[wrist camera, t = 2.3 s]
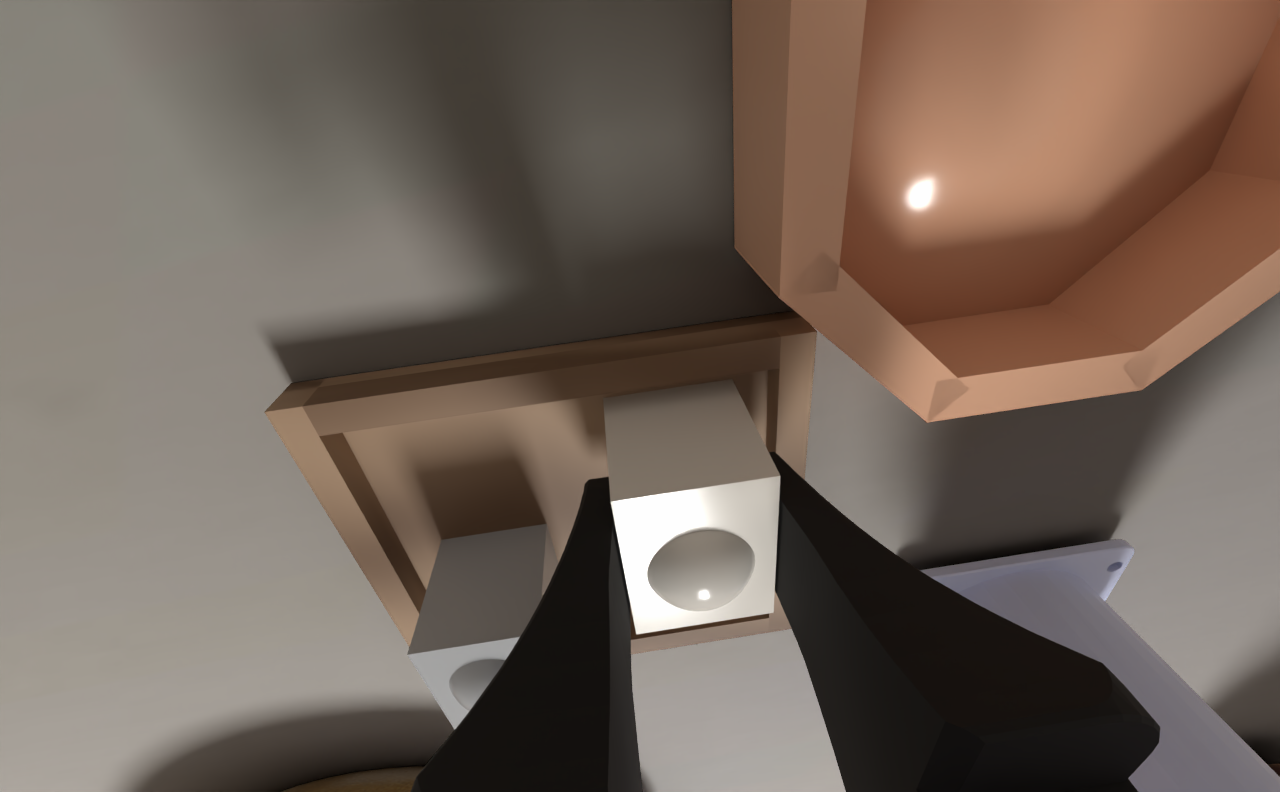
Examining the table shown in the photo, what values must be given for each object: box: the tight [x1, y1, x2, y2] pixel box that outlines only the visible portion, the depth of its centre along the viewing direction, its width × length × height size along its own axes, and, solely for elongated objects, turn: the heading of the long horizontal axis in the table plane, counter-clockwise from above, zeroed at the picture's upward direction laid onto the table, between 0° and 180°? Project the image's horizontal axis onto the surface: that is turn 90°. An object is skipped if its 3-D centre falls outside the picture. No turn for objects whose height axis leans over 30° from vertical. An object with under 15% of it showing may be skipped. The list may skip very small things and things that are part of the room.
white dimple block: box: [603, 379, 780, 634], centre depth 12 cm, size 4×3×4 cm
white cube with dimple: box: [407, 524, 558, 730], centre depth 14 cm, size 4×3×4 cm
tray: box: [265, 311, 817, 654], centre depth 15 cm, size 11×12×1 cm
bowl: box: [732, 0, 1280, 423], centre depth 9 cm, size 11×11×3 cm
